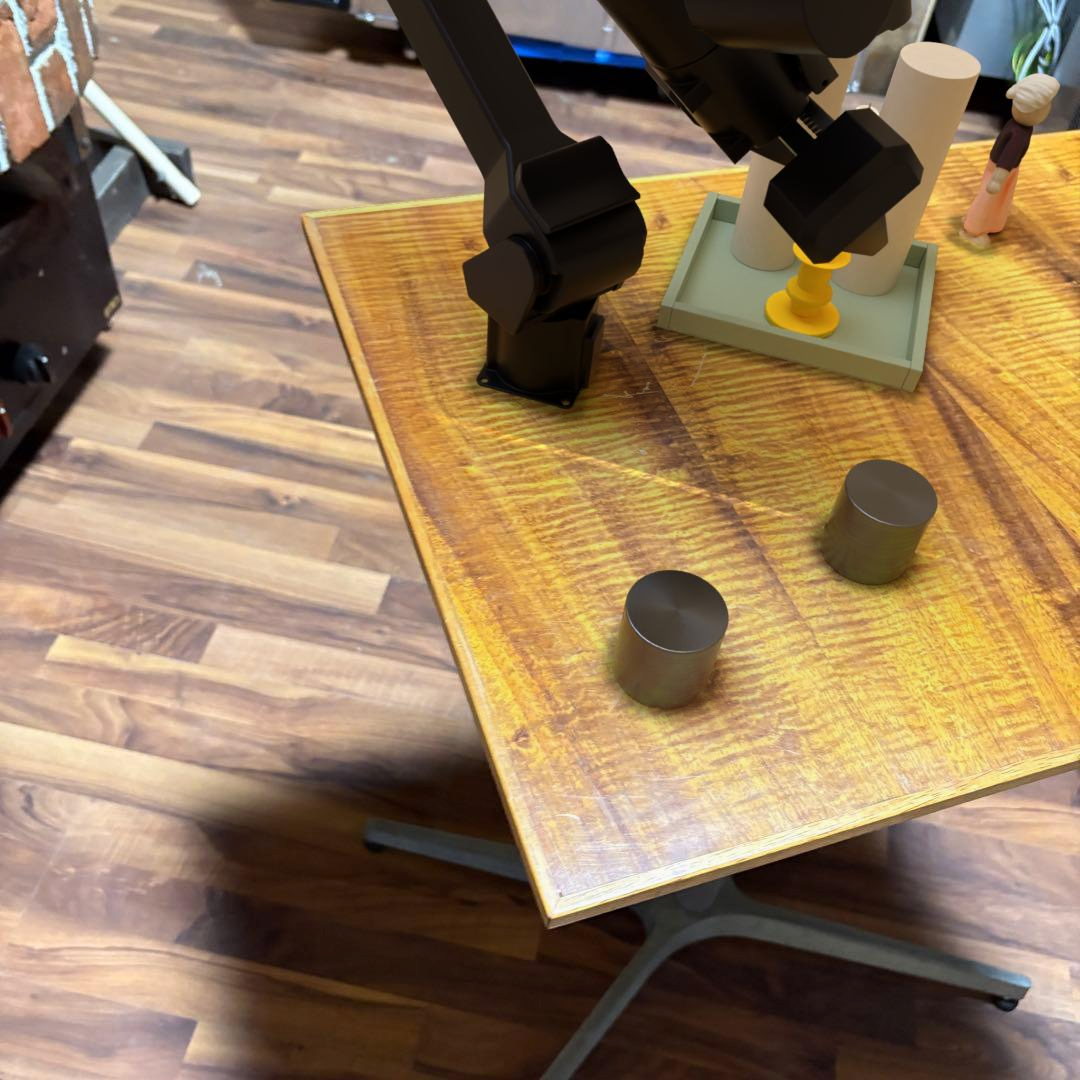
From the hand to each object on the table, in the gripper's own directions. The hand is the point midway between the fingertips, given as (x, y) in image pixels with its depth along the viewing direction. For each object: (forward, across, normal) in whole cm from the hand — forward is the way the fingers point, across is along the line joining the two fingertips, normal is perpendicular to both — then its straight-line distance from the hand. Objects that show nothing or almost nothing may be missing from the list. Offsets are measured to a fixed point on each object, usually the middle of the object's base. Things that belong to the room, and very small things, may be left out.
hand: (835, 202), depth 58 cm
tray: (+14, +8, +5) cm, 17 cm away
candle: (+13, +6, +6) cm, 15 cm away
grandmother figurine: (+27, +12, -8) cm, 31 cm away
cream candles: (+16, +11, +3) cm, 19 cm away
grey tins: (+3, -15, +16) cm, 22 cm away
